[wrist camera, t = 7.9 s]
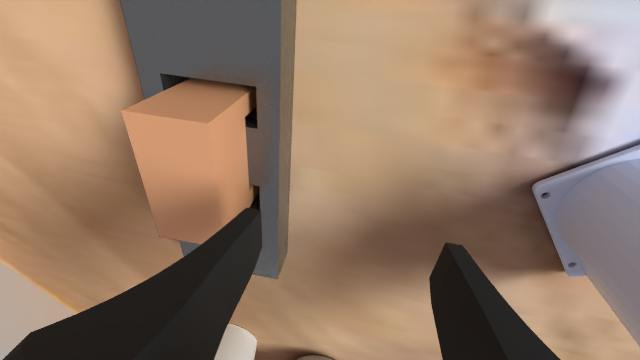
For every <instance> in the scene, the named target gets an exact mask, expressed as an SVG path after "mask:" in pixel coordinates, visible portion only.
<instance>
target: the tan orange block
mask: <svg viewBox="0 0 640 360" xmlns="http://www.w3.org/2000/svg"><path fill="white" fill-rule="evenodd" d="M256 106H257V96H256V87H255V86H248V85H241V84H234V83H227V82H219V81H212V80H205V79H198V78H190V79H188V80H186V81H184V82H182V83H180V84H177V85H175V86H173V87H171V88H169V89H167V90H164V91H162V92H160V93H158V94H156V95H154V96H152V97H149V98H147V99H145V100H143V101H141V102H139V103H136V104H134V105H132V106H130V107H128V108H126V109H123V110H121V112H122V116H123V119H124V122H125V125H126V129H127V132H128V135H129V139H130V142H131V145H132V149H133V152H134V155H135V158H136V162H137V165H138V168H139V172H140V175H141V178H142V181H143V185H144V188H145V191H146V195H147V198H148V201H149V204H150V208H151V211H152V214H153V218H154V221H155V224H156V227H157V231H158V234H159V237H164V238H170V239H175V240H181V241H186V242H191V243H197V244H202V243H204V242H205V241H206V240H208V239H209V238H210V237H211V236H213V235H214V234H215V233H216V232H218V231H219V230H220V229H221V228H223V227H224V226H225V225H226V224H227V223H229V222H230V221H231V220H232V219H233V218H235V217H236V216H237V215H238V214H239V213H240V212H242V211H243V210H244V209H245V208H249V207H250V206H251V204H252V202H253V200H254V199H255V197H256V195H257V194H258V192H259V190H260V189H259V186H255V185H249V177H248V160H247V144H246V127H245V116H246V115H248V114H249V113H250V112H251V111H252V110H253V109H254V108H255V107H256Z"/></svg>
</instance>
